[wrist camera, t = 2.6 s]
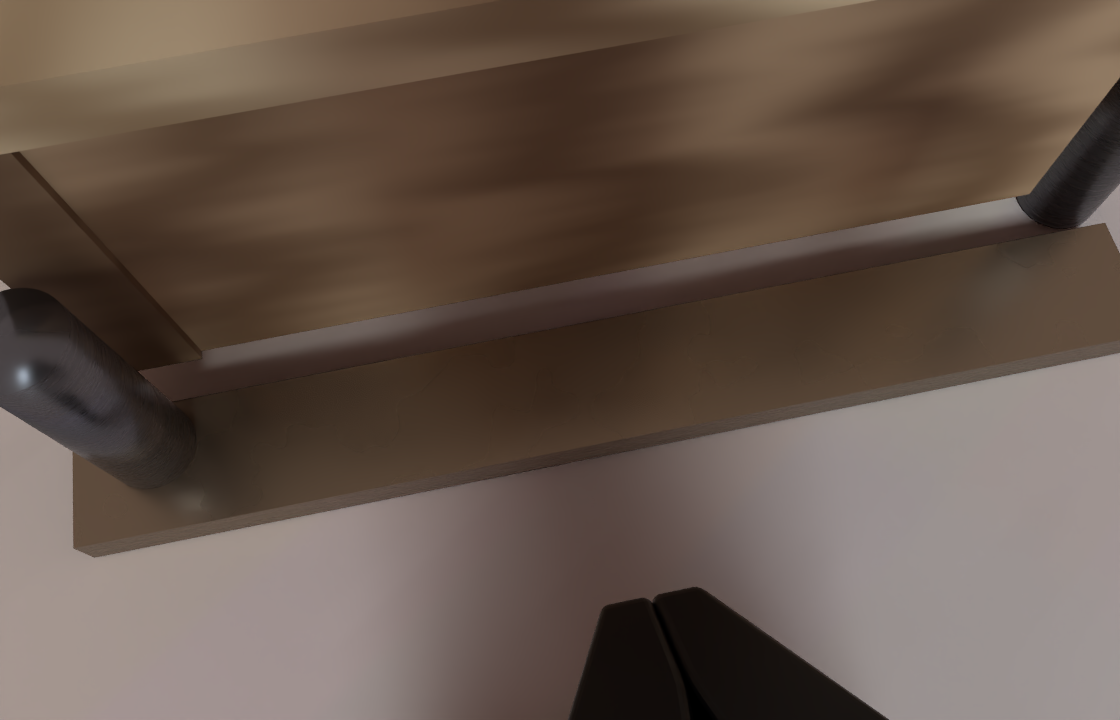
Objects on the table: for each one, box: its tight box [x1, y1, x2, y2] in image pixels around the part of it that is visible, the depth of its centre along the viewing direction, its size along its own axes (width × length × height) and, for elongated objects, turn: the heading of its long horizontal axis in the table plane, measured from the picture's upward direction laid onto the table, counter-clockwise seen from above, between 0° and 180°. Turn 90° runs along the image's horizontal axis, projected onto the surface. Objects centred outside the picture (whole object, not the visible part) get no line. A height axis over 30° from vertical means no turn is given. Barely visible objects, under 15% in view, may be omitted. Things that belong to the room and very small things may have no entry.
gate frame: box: [0, 78, 1120, 557], centre depth 19 cm, size 26×6×12 cm, turn 101°
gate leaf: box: [0, 0, 1120, 371], centre depth 19 cm, size 22×2×10 cm, turn 101°
